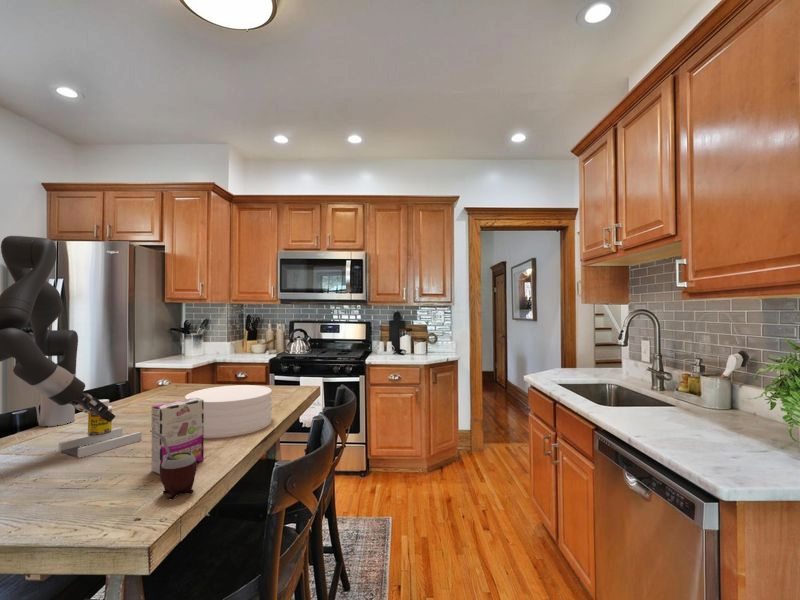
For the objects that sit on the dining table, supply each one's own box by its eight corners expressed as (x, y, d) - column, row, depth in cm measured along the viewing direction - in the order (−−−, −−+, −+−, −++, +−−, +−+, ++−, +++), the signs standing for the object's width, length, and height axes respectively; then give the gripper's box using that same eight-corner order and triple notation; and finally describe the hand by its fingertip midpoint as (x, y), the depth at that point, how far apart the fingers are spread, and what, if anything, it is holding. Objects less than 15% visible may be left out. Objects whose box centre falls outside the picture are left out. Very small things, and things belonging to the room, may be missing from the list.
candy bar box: (193, 456, 104) (194, 396, 105) (204, 460, 102) (205, 399, 102) (149, 471, 95) (150, 405, 95) (159, 476, 92) (161, 408, 93)
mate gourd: (202, 485, 87) (203, 419, 88) (183, 502, 79) (185, 430, 80) (169, 485, 87) (170, 419, 88) (147, 502, 79) (149, 430, 80)
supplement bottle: (86, 439, 109) (87, 403, 109) (88, 434, 114) (90, 399, 114) (110, 436, 112) (111, 401, 112) (112, 431, 117) (113, 397, 117)
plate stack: (283, 415, 147) (284, 385, 147) (247, 439, 119) (248, 402, 119) (215, 413, 150) (215, 384, 150) (164, 436, 122) (165, 400, 122)
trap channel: (79, 458, 103) (80, 448, 104) (58, 451, 108) (58, 442, 108) (141, 440, 118) (141, 432, 118) (120, 435, 123) (120, 427, 123)
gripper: (84, 375, 103) (130, 409, 114) (57, 371, 110) (103, 404, 120) (59, 399, 98) (110, 432, 109) (33, 393, 105) (83, 426, 115)
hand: (106, 417), depth 114 cm, fingers closed on supplement bottle, 5 cm apart
